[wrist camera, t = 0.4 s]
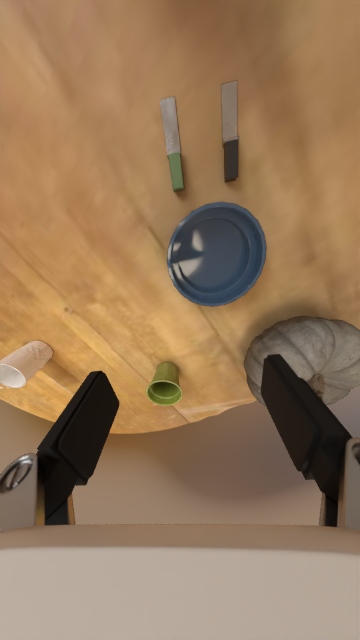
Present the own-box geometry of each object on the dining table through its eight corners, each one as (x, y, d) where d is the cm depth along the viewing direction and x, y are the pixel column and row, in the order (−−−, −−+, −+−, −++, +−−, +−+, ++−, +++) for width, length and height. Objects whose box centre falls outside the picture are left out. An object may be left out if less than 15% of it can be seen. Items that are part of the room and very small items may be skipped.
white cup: (35, 333, 44) (-2, 358, 35) (60, 352, 47) (32, 379, 38) (21, 347, 47) (-17, 373, 38) (46, 364, 50) (15, 392, 41)
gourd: (229, 317, 37) (281, 378, 23) (331, 285, 38) (449, 326, 23) (236, 382, 51) (271, 447, 36) (311, 359, 51) (377, 414, 36)
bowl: (162, 216, 31) (158, 213, 26) (255, 199, 29) (271, 192, 24) (177, 300, 39) (175, 311, 33) (250, 291, 37) (262, 300, 32)
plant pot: (146, 373, 50) (140, 398, 42) (160, 352, 46) (155, 375, 38) (173, 384, 52) (171, 410, 44) (188, 365, 48) (189, 390, 40)
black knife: (236, 179, 28) (239, 176, 26) (223, 182, 28) (225, 179, 27) (236, 81, 23) (240, 70, 21) (221, 85, 23) (223, 74, 22)
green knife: (184, 189, 29) (184, 187, 27) (172, 192, 29) (171, 189, 28) (174, 97, 24) (173, 87, 22) (160, 100, 24) (158, 91, 22)
